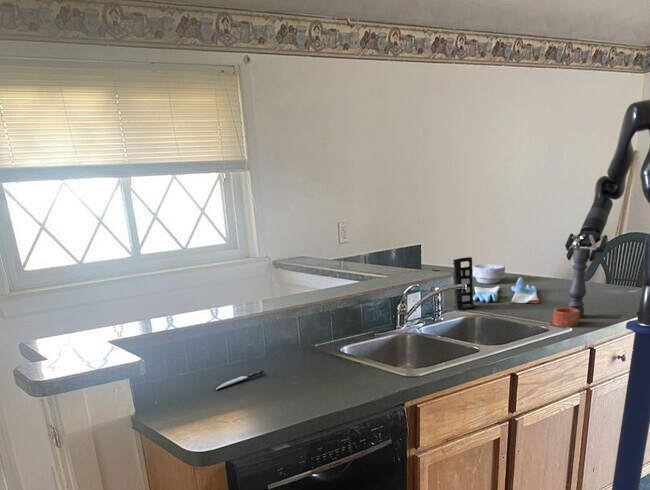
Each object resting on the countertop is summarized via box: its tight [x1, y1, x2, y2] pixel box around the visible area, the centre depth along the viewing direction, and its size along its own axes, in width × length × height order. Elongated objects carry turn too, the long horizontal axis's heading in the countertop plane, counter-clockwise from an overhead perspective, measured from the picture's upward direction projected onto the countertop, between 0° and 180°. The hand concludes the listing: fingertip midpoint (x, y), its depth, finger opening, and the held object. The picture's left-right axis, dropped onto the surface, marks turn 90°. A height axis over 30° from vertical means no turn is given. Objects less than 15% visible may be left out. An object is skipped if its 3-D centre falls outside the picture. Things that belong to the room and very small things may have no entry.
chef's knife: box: [215, 369, 265, 390], centre depth 194 cm, size 19×1×3 cm
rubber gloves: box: [473, 277, 540, 304], centre depth 287 cm, size 27×33×6 cm
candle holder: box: [566, 247, 591, 320], centre depth 243 cm, size 6×6×25 cm
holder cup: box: [552, 307, 581, 328], centre depth 238 cm, size 9×9×5 cm
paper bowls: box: [472, 263, 506, 285], centre depth 317 cm, size 15×15×8 cm
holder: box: [452, 256, 475, 311], centre depth 267 cm, size 11×8×20 cm
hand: (579, 259), depth 239 cm, fingers open, 7 cm apart
